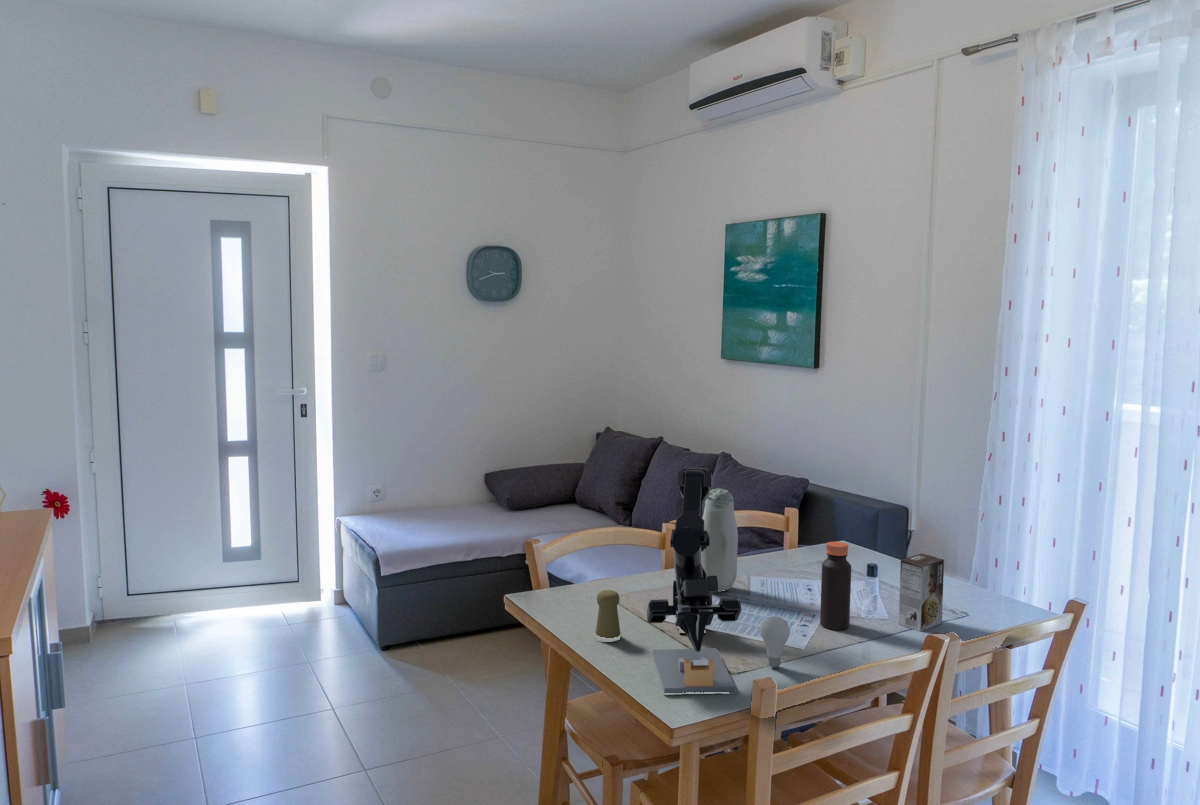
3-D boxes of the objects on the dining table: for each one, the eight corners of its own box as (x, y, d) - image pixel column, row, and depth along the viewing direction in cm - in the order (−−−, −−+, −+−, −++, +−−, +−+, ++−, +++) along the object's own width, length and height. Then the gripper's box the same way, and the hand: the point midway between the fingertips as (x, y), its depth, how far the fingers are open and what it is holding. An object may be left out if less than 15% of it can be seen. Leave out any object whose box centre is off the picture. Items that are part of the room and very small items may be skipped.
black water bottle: (838, 632, 194) (841, 549, 192) (814, 624, 199) (816, 543, 197) (855, 626, 198) (857, 544, 196) (831, 618, 203) (833, 538, 201)
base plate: (652, 656, 180) (652, 628, 179) (716, 654, 181) (716, 627, 180) (664, 695, 161) (664, 664, 161) (735, 694, 162) (735, 663, 161)
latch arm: (685, 667, 170) (685, 662, 170) (700, 666, 170) (699, 661, 170) (693, 665, 160) (693, 660, 160) (708, 665, 160) (708, 659, 161)
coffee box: (918, 616, 205) (921, 552, 204) (942, 623, 200) (945, 558, 198) (896, 624, 200) (899, 558, 198) (920, 632, 195) (923, 565, 193)
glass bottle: (692, 587, 227) (693, 486, 224) (725, 582, 231) (726, 484, 228) (709, 598, 218) (711, 493, 215) (743, 593, 221) (745, 491, 219)
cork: (605, 630, 195) (606, 585, 194) (626, 637, 191) (626, 590, 190) (589, 638, 190) (589, 592, 189) (609, 645, 186) (610, 597, 185)
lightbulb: (784, 661, 178) (786, 611, 177) (792, 673, 172) (793, 622, 171) (756, 661, 178) (757, 611, 176) (763, 673, 171) (764, 622, 170)
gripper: (648, 561, 167) (655, 635, 157) (740, 560, 168) (752, 633, 158) (644, 586, 175) (650, 658, 166) (731, 584, 176) (742, 655, 167)
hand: (698, 650), depth 164 cm, fingers closed
